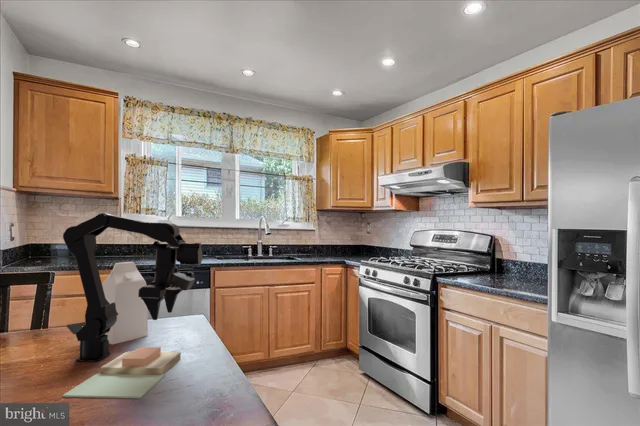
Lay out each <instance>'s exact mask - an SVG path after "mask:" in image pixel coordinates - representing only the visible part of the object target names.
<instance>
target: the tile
mask: <svg viewBox="0 0 640 426" xmlns="http://www.w3.org/2000/svg"><path fill="white" fill-rule="evenodd" d="M161 349H162V348H161V346H160V347H158V346H156V347H155V346H152V347H151V346H140V347H138V348H137V349H134V351H133V352H132V353H130V354H128V355H127V356H125V357H124V358H122V366H141V367H144V366H146V365H147V364H148V363H150V362H151V361H152V360H154V359H155V358H156V357H158V356H159V355H160V354H161V352H162V351H161Z"/></svg>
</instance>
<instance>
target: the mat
mask: <svg viewBox="0 0 640 426" xmlns="http://www.w3.org/2000/svg"><path fill="white" fill-rule="evenodd" d="M165 377H166V376H165V374H163V375H135V374H101V373H96V374H94V375H92V376H90V377H89V378H87V379H86V380H84V381H82V382H81V383H80V384H78V385H76V386H75V387H73V388H72V389H70V390H69V391H68V390H67V392H65V393H63V394H62V398H95V399H96V398H97V399H99V398H100V399H101V398H102V399H104V398H106V399H142V398H143V397H144V396H145V395H146V394H147V393H149V392H150V391H151V390H152V389H153V387H155V386H156V385H157V384H158V383H159V382H160V381H162V380H163V379H164V378H165Z"/></svg>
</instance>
